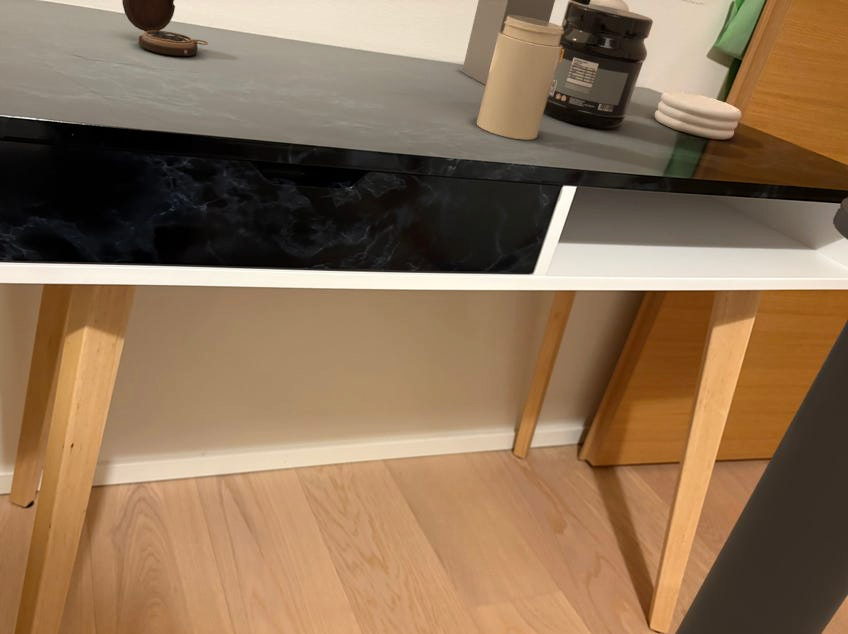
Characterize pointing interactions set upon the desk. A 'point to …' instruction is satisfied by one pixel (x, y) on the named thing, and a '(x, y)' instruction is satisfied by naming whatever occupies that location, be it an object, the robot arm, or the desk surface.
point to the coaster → (697, 115)
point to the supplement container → (598, 65)
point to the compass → (158, 27)
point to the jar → (520, 77)
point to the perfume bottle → (496, 30)
